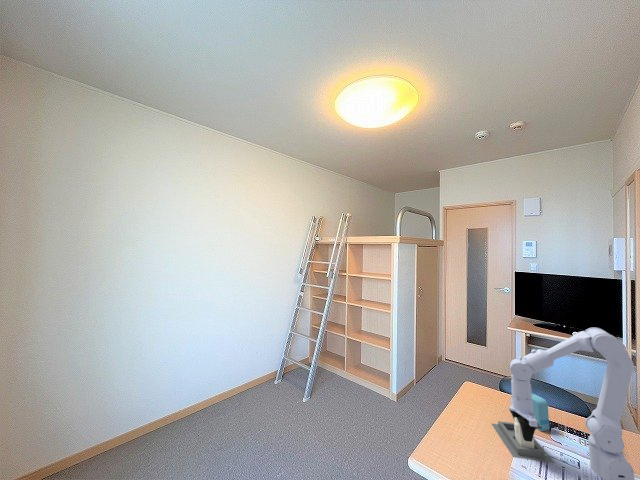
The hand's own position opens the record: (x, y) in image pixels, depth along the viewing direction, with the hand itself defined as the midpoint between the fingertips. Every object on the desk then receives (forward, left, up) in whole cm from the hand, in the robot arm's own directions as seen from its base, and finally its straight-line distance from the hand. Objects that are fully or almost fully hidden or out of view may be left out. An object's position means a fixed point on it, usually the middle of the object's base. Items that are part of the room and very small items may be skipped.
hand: (524, 436), depth 93 cm
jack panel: (+4, 0, -5) cm, 6 cm away
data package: (+18, -10, -5) cm, 22 cm away
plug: (0, -1, -3) cm, 3 cm away
